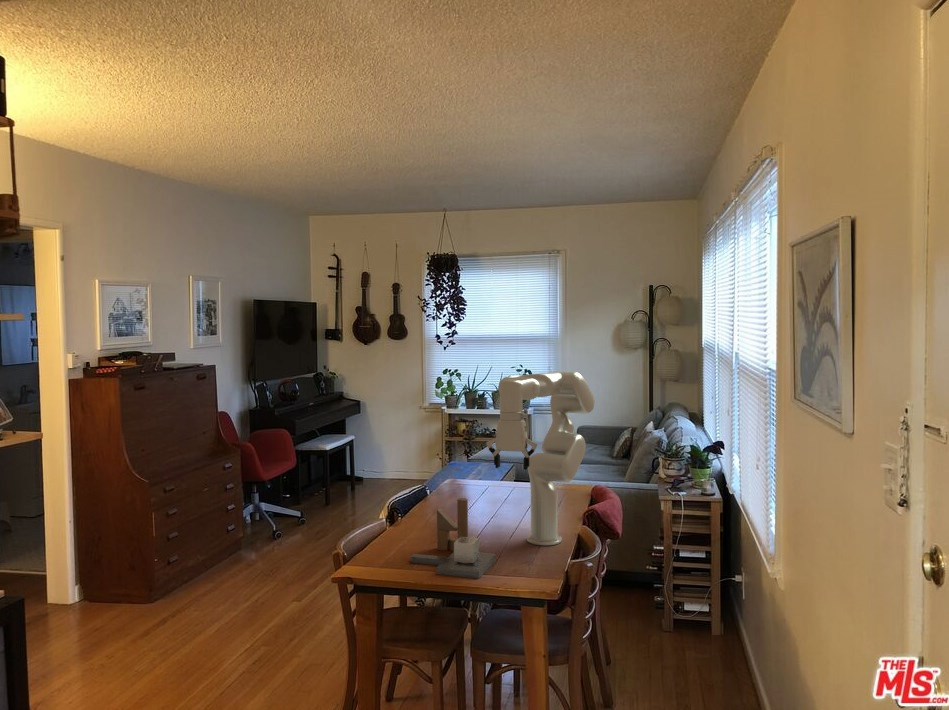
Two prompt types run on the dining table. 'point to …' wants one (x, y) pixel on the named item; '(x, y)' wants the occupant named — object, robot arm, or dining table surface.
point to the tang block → (457, 564)
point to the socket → (466, 549)
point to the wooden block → (452, 525)
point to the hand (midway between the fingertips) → (511, 468)
